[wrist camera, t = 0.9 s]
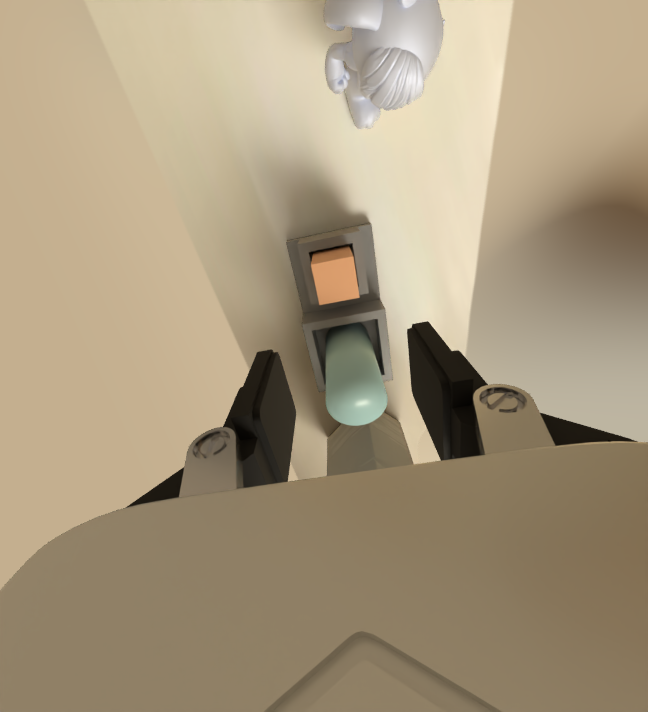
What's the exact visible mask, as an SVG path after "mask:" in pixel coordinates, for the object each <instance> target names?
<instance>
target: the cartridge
mask: <svg viewBox="0 0 648 712" xmlns="http://www.w3.org/2000/svg"><path fill="white" fill-rule="evenodd" d="M387 401H388V399H387V393H386V390H385V386H384V383H383V380H382V376H381V373H380V370H379V366H378V363H377V360H376V356H375V353H374V350H373V346H372V343H371V340H370V336H369V333H368V331H367V329H366V328H365V327H364V326H363V325H362V324H360V323H358V322H356V323H351V324H345V325H340V326H334V327H331V328H330V329H329V331H328V333H327V335H326V407H327V410H328V412H329V414H330V415H331V416H332V417H333V418H334V419H335V420H337V421H338V422H340V423H343V424H346V425H351V426H359V425H365V424H368V423H370V422H373V421H374V420H376V419H377V418H379V417H380V416H381V415H382V413H383V412H384V410H385V408H386V406H387Z"/></svg>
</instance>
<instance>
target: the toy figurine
mask: <svg viewBox="0 0 648 712" xmlns="http://www.w3.org/2000/svg"><path fill="white" fill-rule="evenodd" d="M442 19H443V18H442V15H441V11H440V7H439V2H438V0H326V2H325V6H324V21H325V24H326V26H327V27H329V28H331V29H333V30H337V31H341V30H343V29H344V27H345V26H347V27H352V41H350V42H347V43H335V44H333V45H331V46H330V47H329V49H328V51H327V54H326V60H325V74H326V80H327V84H328V86H329V88H330V90H332V91H333V92H334V93H335V94H341V93H342V92H343V90H345V94H346V97H347V101H348V105H349V109H350V112H351V115H352V118H353V121H354V124H355V126H356V127H357V128H358V129H364V128H367V129H370V128H372V127H373V125H374V123H375V121H377V120H378V119H379V117H380V108H383V109H384V110H387V111H389V110H395V109H398V108H402V107H404V106H405V105H406V104H407V105H409V104H410V103H411V102H412V101H414V100H416V99H418V98H420V97H421V95H422V93H423V88H424V80H425V79H426V78H427V77H428V75H429V73H430V72H431V70H432V68H433V67H434V65H435V63H436V60H437V58H438V55H439V52H440V49H441V44H442V39H443V26H444V23H445V20H442ZM343 61H345V62H346V64H347V66H348V68H346V69H345V67H344V63H343Z"/></svg>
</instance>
